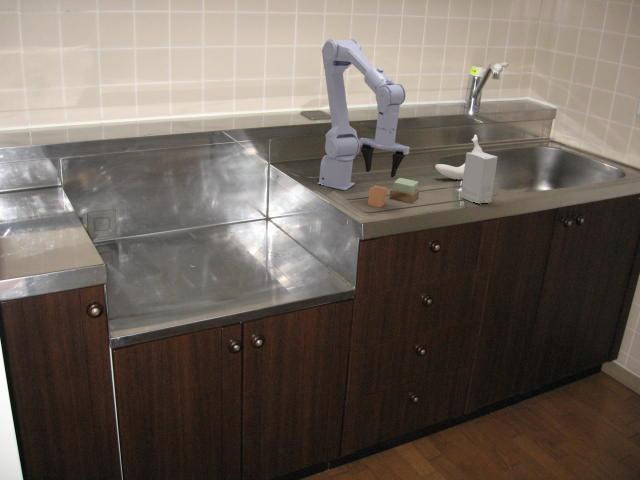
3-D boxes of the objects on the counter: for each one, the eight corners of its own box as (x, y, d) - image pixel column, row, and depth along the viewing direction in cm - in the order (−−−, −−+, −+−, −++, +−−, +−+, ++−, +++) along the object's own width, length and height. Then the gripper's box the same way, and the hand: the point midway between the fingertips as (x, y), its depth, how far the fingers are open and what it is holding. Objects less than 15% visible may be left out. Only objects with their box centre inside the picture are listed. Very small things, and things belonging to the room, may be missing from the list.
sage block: (392, 190, 213) (393, 182, 212) (398, 185, 218) (399, 177, 217) (411, 194, 210) (412, 186, 210) (417, 189, 216) (418, 181, 215)
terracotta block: (367, 204, 206) (369, 188, 204) (372, 201, 210) (374, 185, 208) (380, 207, 205) (382, 191, 203) (385, 204, 208) (387, 188, 206)
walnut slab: (389, 199, 213) (390, 190, 212) (396, 194, 219) (397, 184, 218) (411, 204, 211) (412, 195, 210) (418, 198, 217) (419, 189, 216)
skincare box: (491, 203, 218) (500, 157, 212) (477, 205, 215) (486, 158, 209) (471, 194, 224) (480, 149, 218) (458, 196, 221) (466, 151, 215)
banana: (432, 179, 236) (438, 136, 230) (471, 173, 247) (478, 133, 241) (442, 183, 232) (449, 140, 227) (481, 178, 243) (489, 136, 237)
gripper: (357, 125, 198) (352, 171, 203) (406, 134, 192) (399, 182, 198) (366, 121, 204) (361, 166, 209) (414, 130, 199) (407, 176, 204)
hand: (380, 173), depth 204 cm, fingers open, 7 cm apart
